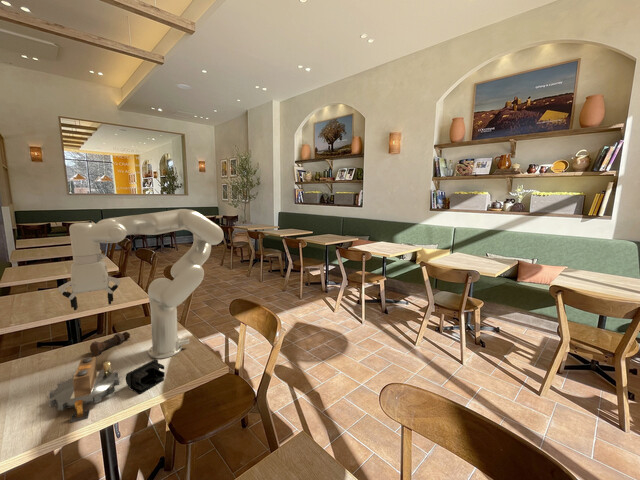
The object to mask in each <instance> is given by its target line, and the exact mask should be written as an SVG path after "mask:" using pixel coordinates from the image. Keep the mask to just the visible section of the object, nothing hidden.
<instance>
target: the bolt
mask: <svg viewBox="0 0 640 480" xmlns="http://www.w3.org/2000/svg"><path fill="white" fill-rule="evenodd" d="M130 338H131V333H130V332H128V331H124V332H123V333H121V332H120V333H119V332H118V333H115V334H114V335H113V337H110V338H108V339H106V340H104V341H100V342H98V341H93V342H91V344H90V346H89V350H90V353H91V354H92V355H93V356H100V355H102V353H103V352H104V350H106V349H108V348H110V347H112V346H115V345H121V344H123V343H124V342H125V341H126V340H127V339H130Z"/></svg>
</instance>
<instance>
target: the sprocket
mask: <svg viewBox="0 0 640 480" xmlns="http://www.w3.org/2000/svg"><path fill="white" fill-rule="evenodd" d="M102 365H103V370H102V369H100V370H99V369H98V370H97V374H96V377H95V381H94V384H93V388H92V391H91V393H90V394H86V395H81V396H77V397H75V396H74V386H73V378H74V375H75V374H73V375H72V377H71V378H69V379H67V380H63V381H61V380H60V381H59V382H58V383H57V387H56V388H55V389H50V391H49V393H48V397H49V398H48V405H49V406H50V408H53V407H55V406H57V410H58V411H64V410H66V409H67V408H68V409H70V408H75V410H77V403H81V402H82V403H83V406H86V405H90V404H92V403H94V404H97V403H100V402H101V401H102V398H104V397H105V396H107V395H112V394H113V393H115V391H116V390H115V387H116V386H120V382H121V381H120V378H121V377H120V376H119V372H118V371H117V370H115V371H113V372H112V367H111V365H112V364H111V361H109V360H108V361H104V362H103V363H102Z"/></svg>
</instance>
